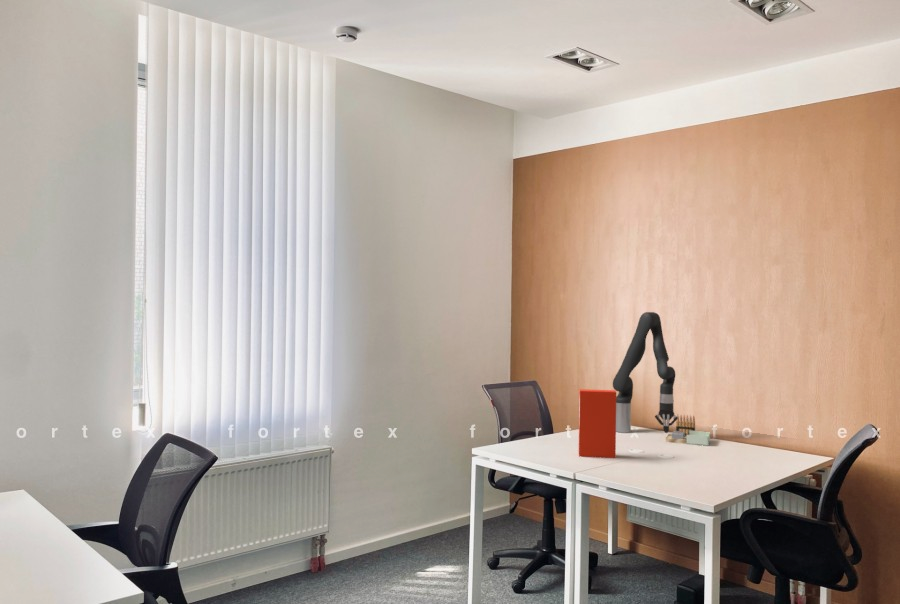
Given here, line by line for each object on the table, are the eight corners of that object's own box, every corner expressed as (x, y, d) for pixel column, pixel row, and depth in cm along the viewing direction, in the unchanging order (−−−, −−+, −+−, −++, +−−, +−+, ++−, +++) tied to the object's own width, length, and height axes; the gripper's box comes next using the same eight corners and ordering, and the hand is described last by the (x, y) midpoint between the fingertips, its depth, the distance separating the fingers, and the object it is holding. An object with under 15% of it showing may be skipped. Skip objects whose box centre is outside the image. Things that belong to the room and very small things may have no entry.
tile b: (671, 438, 365) (671, 433, 365) (672, 436, 369) (672, 432, 369) (683, 439, 362) (683, 434, 362) (683, 437, 367) (683, 433, 367)
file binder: (615, 458, 320) (616, 392, 321) (579, 456, 323) (580, 390, 324) (614, 454, 328) (614, 390, 329) (578, 453, 331) (579, 389, 332)
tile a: (672, 436, 371) (672, 431, 371) (673, 434, 376) (673, 430, 376) (684, 437, 368) (684, 432, 369) (685, 435, 373) (685, 431, 373)
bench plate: (665, 441, 365) (665, 438, 365) (668, 437, 378) (668, 434, 378) (686, 443, 360) (686, 440, 360) (689, 439, 373) (689, 435, 373)
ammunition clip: (695, 436, 385) (695, 415, 385) (695, 436, 383) (695, 415, 383) (676, 434, 389) (676, 414, 389) (675, 435, 387) (675, 414, 388)
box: (686, 444, 359) (686, 434, 360) (689, 439, 374) (689, 430, 374) (708, 446, 355) (708, 436, 355) (710, 441, 369) (710, 432, 369)
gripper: (653, 401, 375) (653, 432, 374) (678, 403, 369) (677, 434, 369) (655, 400, 381) (655, 430, 381) (679, 401, 376) (679, 432, 375)
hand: (666, 432), depth 375 cm, fingers closed
